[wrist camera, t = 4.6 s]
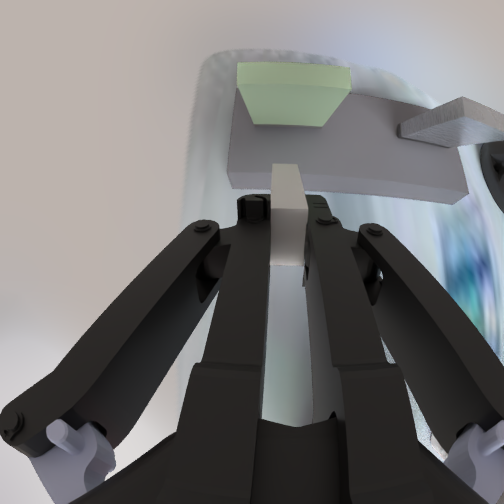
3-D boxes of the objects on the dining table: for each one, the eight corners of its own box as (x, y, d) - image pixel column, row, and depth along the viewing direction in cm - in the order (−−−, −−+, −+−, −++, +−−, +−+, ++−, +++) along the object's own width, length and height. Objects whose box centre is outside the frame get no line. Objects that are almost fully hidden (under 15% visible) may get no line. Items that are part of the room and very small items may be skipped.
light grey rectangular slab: (444, 149, 26) (518, 140, 13) (396, 139, 26) (464, 117, 13) (443, 135, 25) (516, 120, 12) (395, 124, 26) (462, 95, 13)
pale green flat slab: (320, 130, 27) (351, 90, 14) (254, 127, 27) (236, 85, 15) (320, 114, 26) (349, 66, 13) (255, 112, 27) (237, 61, 14)
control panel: (452, 204, 28) (469, 193, 24) (232, 188, 31) (226, 172, 27) (433, 128, 30) (445, 113, 27) (240, 108, 33) (236, 88, 29)
